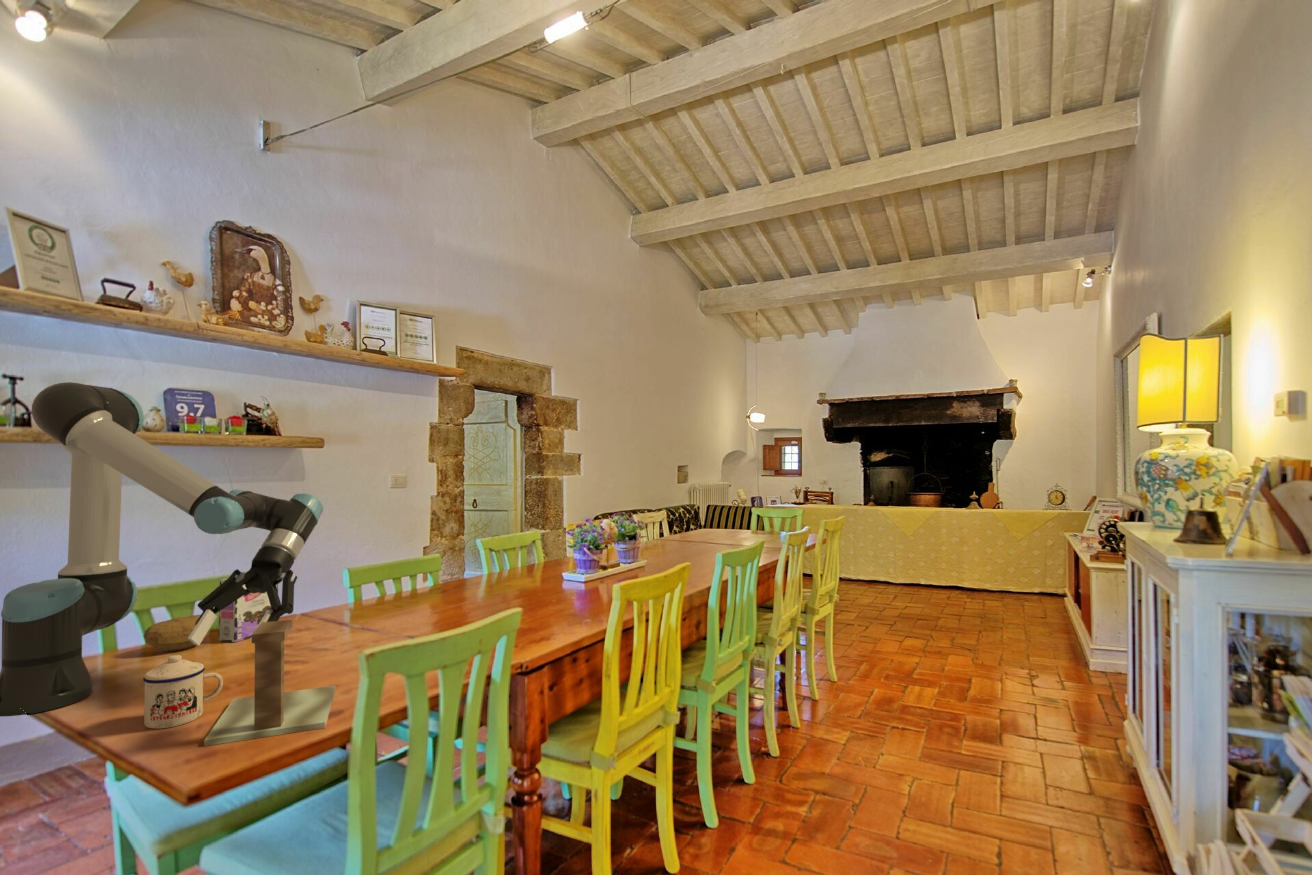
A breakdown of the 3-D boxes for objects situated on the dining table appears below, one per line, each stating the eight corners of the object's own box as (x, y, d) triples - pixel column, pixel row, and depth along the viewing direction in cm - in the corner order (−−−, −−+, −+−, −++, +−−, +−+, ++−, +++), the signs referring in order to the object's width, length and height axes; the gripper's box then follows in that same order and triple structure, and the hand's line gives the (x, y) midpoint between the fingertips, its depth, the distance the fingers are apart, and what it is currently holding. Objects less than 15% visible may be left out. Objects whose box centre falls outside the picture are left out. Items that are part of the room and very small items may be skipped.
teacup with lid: (142, 734, 111) (143, 667, 112) (142, 718, 118) (143, 655, 119) (225, 716, 119) (225, 653, 119) (220, 702, 126) (220, 642, 126)
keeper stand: (204, 746, 106) (205, 640, 107) (233, 703, 125) (233, 614, 126) (324, 727, 113) (325, 628, 114) (335, 690, 132) (335, 605, 132)
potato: (138, 652, 160) (139, 620, 160) (204, 640, 171) (205, 609, 171) (148, 660, 154) (149, 626, 154) (216, 646, 164) (217, 615, 165)
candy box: (235, 643, 167) (235, 580, 168) (217, 641, 169) (218, 579, 169) (278, 629, 181) (279, 571, 181) (262, 628, 182) (262, 570, 183)
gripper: (337, 564, 143) (291, 653, 127) (236, 564, 146) (179, 650, 131) (321, 544, 137) (271, 634, 122) (217, 544, 141) (155, 631, 125)
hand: (223, 642), depth 126 cm, fingers open, 13 cm apart
